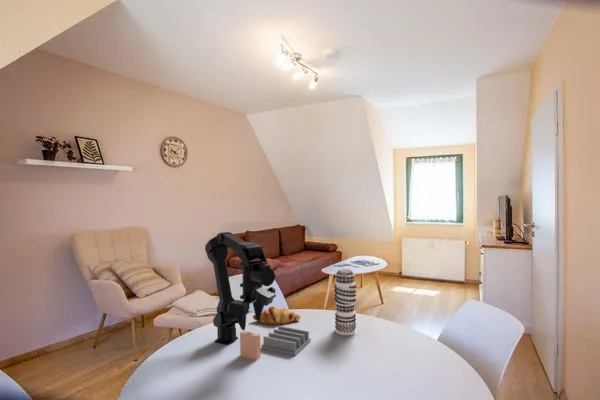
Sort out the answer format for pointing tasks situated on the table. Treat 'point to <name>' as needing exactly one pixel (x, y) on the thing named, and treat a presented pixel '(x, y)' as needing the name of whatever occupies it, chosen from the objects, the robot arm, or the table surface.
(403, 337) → the table surface
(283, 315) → the croissant
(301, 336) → the dish rack
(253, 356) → the terracotta plate
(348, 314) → the black-white patterned cylinder
